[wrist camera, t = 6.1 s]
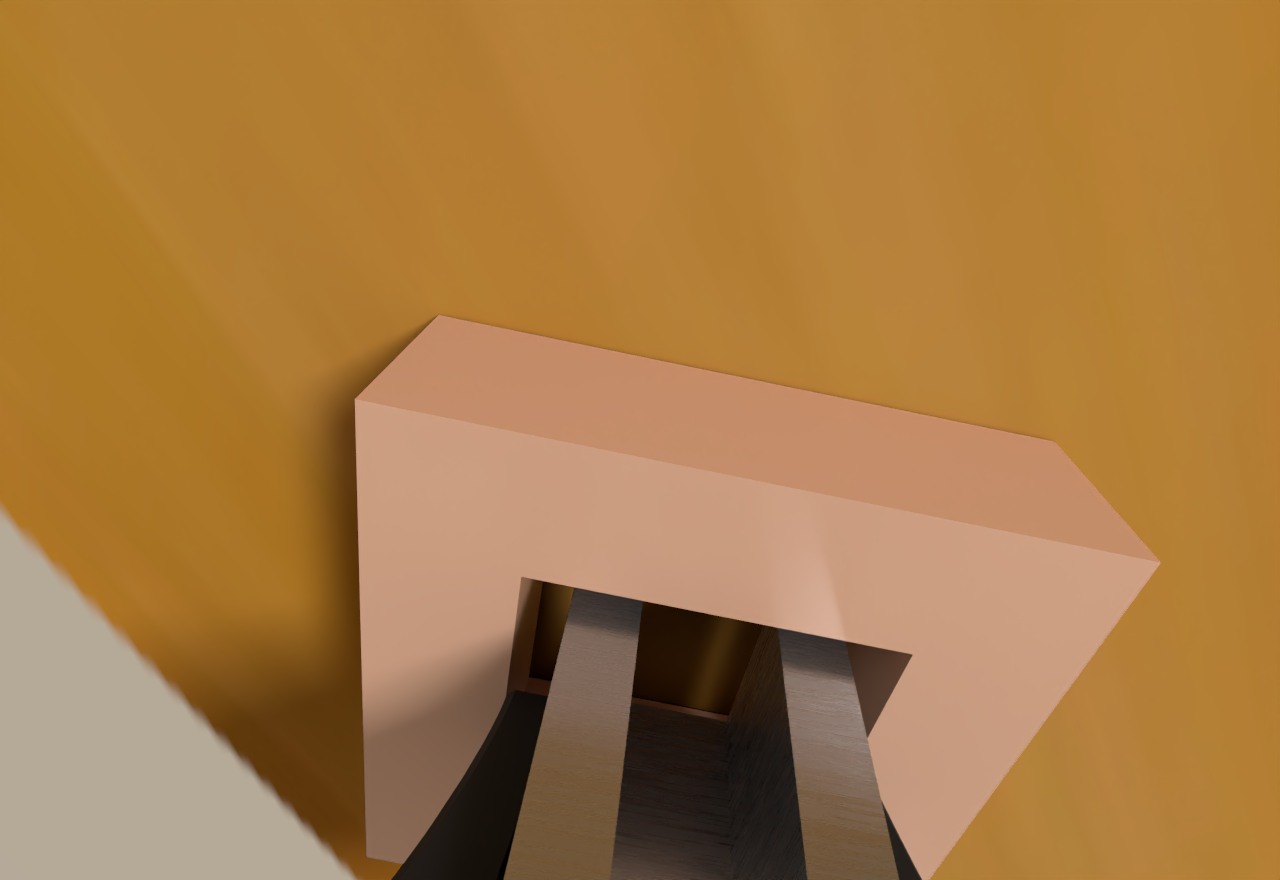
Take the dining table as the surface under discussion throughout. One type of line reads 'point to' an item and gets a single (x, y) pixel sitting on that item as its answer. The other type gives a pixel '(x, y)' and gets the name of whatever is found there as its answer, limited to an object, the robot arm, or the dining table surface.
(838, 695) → the bracket
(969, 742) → the well
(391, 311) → the dining table surface
